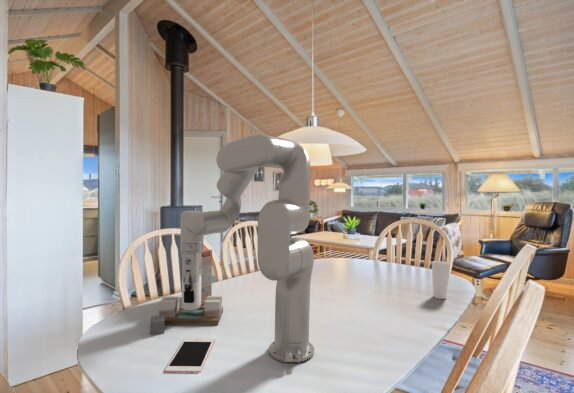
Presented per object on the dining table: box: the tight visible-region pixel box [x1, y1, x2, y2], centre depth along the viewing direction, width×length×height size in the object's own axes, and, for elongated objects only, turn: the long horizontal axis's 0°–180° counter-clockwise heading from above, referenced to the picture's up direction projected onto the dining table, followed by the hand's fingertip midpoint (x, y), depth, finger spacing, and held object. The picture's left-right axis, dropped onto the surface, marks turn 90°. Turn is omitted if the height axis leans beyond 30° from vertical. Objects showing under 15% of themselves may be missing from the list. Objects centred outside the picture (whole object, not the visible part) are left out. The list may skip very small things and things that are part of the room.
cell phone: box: [164, 337, 216, 374], centre depth 92 cm, size 9×18×1 cm, turn 1°
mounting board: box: [158, 295, 224, 326], centre depth 116 cm, size 12×20×6 cm, turn 93°
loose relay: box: [149, 315, 166, 336], centre depth 106 cm, size 5×4×4 cm
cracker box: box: [181, 247, 213, 306], centre depth 134 cm, size 14×6×21 cm, turn 43°
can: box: [181, 275, 202, 311], centre depth 116 cm, size 6×6×12 cm
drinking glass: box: [431, 260, 450, 300], centre depth 143 cm, size 7×7×15 cm
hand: (191, 298), depth 116 cm, fingers closed on can, 6 cm apart
